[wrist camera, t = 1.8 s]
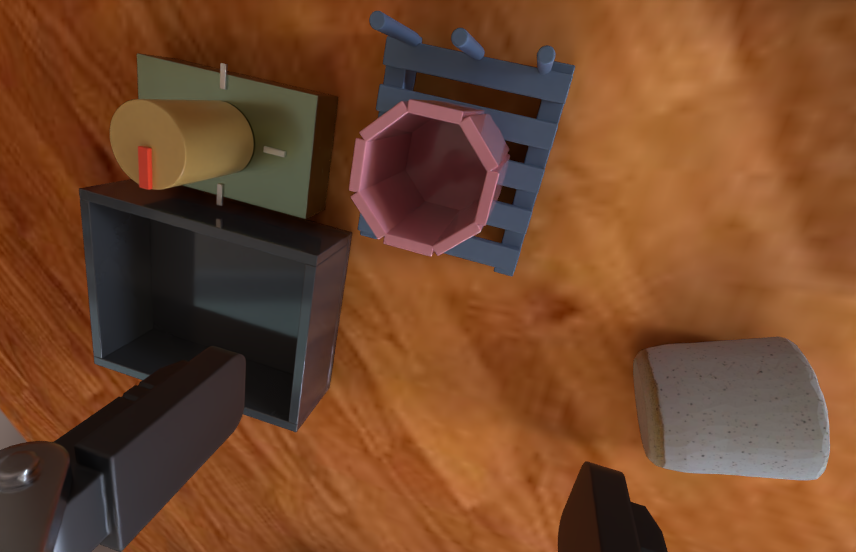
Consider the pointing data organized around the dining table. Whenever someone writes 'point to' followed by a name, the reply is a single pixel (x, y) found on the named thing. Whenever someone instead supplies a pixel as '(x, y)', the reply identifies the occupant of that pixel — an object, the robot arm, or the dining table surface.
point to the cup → (428, 174)
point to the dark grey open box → (214, 290)
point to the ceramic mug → (732, 409)
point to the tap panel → (258, 132)
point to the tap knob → (179, 141)
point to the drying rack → (474, 68)
